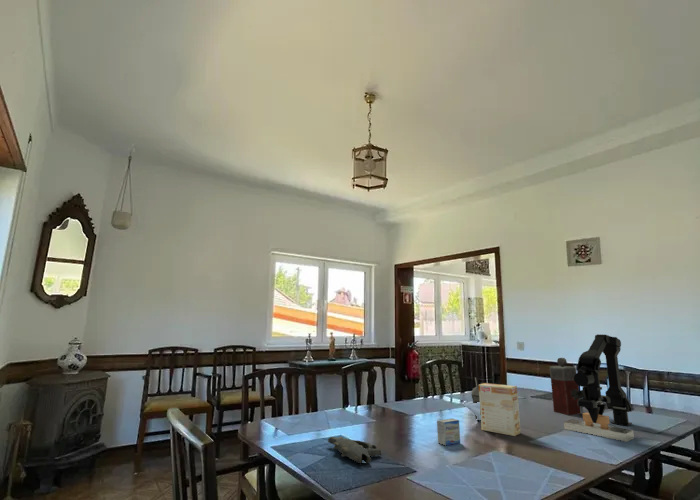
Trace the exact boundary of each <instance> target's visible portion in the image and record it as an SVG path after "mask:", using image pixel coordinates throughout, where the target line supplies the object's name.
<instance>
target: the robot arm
mask: <svg viewBox="0 0 700 500" xmlns="http://www.w3.org/2000/svg"><path fill="white" fill-rule="evenodd" d="M621 346H622V342H621V340H620V339H619V338H618V337H617V336H611V335H608V334H595V336H594V339H593V341H592V343H591V345H590V346H589V349H587V350H585V351H584V352H582V353H581V354H580V355H579V357H578V361H577V366H576V371H577V372H576V374H575V376H574V381H575V383H576V384H577V385H579V387H582V389H581V390H580V389H579V391H577V390H576V389H574V390H571V396H572V397H573V398H574V400H576V399H579V400H578V401H577V403H578V406H580V408H582V407H583V408H584V409H586V410H587V413H589V414H590V416H591V419H592V421H593V423H595V424H597V423H596V422H597V418H598V414H599V415H604V412H605V410H606V408H607V410H612V416H613V420H612V421H610V423H611V424H614V425H618V426H619V425H620V426H625V427H628V426H630V425H632V423H633V422H629V415H628V413H630V412H633V407H632V403H631V402H630V400H629V399H628V397H627V393H626V391H624V388H622V383H621V375H620V368H619V360H618V359H619V358H618V355H619V354H620V352H621ZM602 353H603V354H604V356H605V363H606V370H607V372H606V373H607V378H608V388H607V390H605V395H603V394H602V390H603V386H601V383H600V375H599V374H600V368H601V365H602V361H601V355H602ZM605 403H606V404H605Z"/></svg>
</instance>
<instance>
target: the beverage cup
mask: <svg viewBox="0 0 700 500" xmlns="http://www.w3.org/2000/svg"><path fill="white" fill-rule="evenodd" d="M474 381H475V387H473V388H472V391H471V394H470V395H471V399H472V402H473V403H477V402H480V400H479V385H478V382H477V377H474ZM473 403H472V404H473ZM474 416H475V420H476V419H477V416H476V415H475V414H474Z"/></svg>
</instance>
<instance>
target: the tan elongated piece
mask: <svg viewBox="0 0 700 500" xmlns="http://www.w3.org/2000/svg"><path fill="white" fill-rule="evenodd" d="M327 442H328V443H330V444H332V445H334V446H333V450H337V451H338V452H339V453H340V454H341V453H342V454H341V455H340V456H341V457H342V458H343V457H347V458H348V459H350V460H351V459H352V460H351V461H353V460H354V461H353V462H355V461H356V462H355V463H357V462H358V463H362V460H364V461H365V462H366V464H368V462H369V463H371V462H372V457H370V456H374V457H376V456H375V455H380V456H381V455H382V450H381V449H380V448H377V446H376V445H374V444H371V443H369V442H366V441H362V440H353V439H350V438H344V437H343V436H338V437H335V436H331V437H328V439H327ZM364 448H365V449H364ZM358 463H357V464H358Z"/></svg>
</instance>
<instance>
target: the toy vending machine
mask: <svg viewBox="0 0 700 500" xmlns="http://www.w3.org/2000/svg"><path fill="white" fill-rule="evenodd" d="M556 363H557V365H552V366H549V374H550V375H549V376H550V382H551V383H550V385H551V395H552V406H553V412H554V413H557V414H560V415H561V414H562V415H565V416H566V415H567V416H573V415H581V413H582V412H581V406H578V403H577V401H578V400H579V399H576V400H574V398H573V397H572V396H571V390H574V389H576V390H577V391H580V386H579V385H577V384H576V383H575V381H574V376H575V374H576V373H577V367H574V366H570V365H569V366H567V363H568V362H567V359H566V358H565V357H558V358H557V360H556Z"/></svg>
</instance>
